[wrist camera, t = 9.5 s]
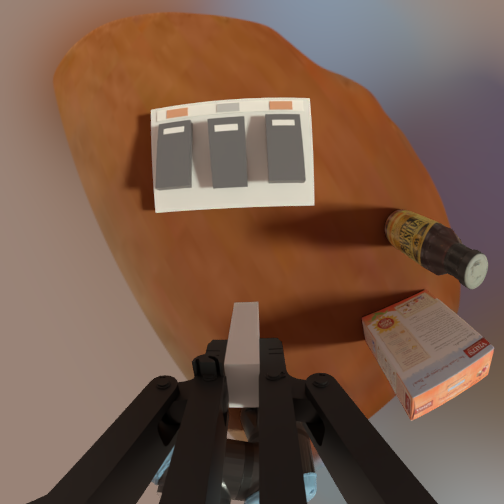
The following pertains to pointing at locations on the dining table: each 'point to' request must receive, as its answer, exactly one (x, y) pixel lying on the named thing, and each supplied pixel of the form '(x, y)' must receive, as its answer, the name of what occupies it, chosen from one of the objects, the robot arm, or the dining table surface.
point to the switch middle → (228, 152)
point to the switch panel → (256, 152)
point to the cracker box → (426, 351)
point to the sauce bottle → (435, 247)
